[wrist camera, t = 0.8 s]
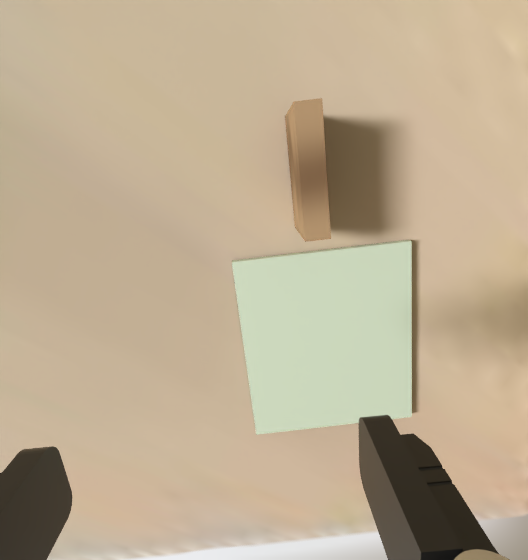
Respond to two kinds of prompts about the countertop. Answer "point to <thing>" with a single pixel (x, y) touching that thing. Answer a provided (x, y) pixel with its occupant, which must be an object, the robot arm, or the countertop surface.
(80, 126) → the countertop surface
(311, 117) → the brown wooden block
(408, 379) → the mat
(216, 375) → the countertop surface
